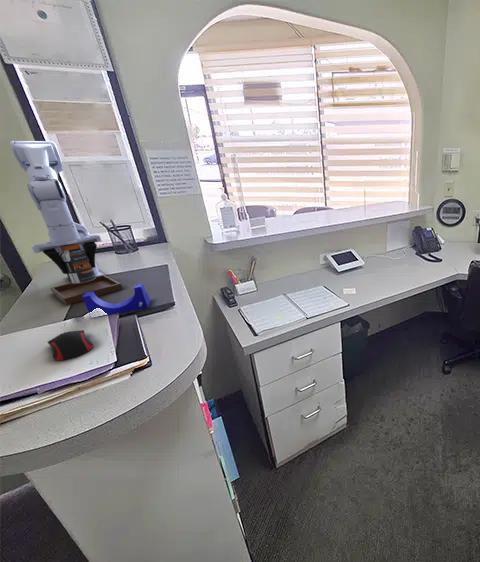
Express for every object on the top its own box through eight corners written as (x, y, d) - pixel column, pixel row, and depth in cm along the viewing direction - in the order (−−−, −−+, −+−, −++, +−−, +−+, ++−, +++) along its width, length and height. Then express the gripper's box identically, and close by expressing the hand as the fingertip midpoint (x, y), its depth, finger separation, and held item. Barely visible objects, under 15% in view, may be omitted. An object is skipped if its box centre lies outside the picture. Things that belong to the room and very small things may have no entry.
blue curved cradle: (150, 301, 87) (143, 281, 84) (147, 307, 83) (140, 286, 81) (96, 311, 82) (87, 290, 79) (91, 318, 78) (82, 296, 76)
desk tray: (53, 294, 94) (50, 287, 94) (106, 280, 104) (104, 274, 104) (66, 305, 86) (63, 298, 85) (122, 289, 96) (120, 283, 95)
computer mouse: (85, 333, 71) (79, 318, 69) (96, 349, 64) (89, 333, 63) (48, 345, 66) (39, 329, 65) (55, 364, 60) (46, 347, 58)
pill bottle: (81, 284, 90) (65, 247, 86) (65, 283, 92) (49, 246, 87) (101, 277, 96) (87, 242, 92) (86, 276, 97) (72, 241, 93)
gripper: (27, 231, 80) (49, 280, 85) (97, 221, 91) (113, 265, 96) (22, 228, 84) (43, 275, 89) (89, 219, 95) (105, 261, 100)
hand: (79, 270), depth 93 cm, fingers closed on pill bottle, 6 cm apart
